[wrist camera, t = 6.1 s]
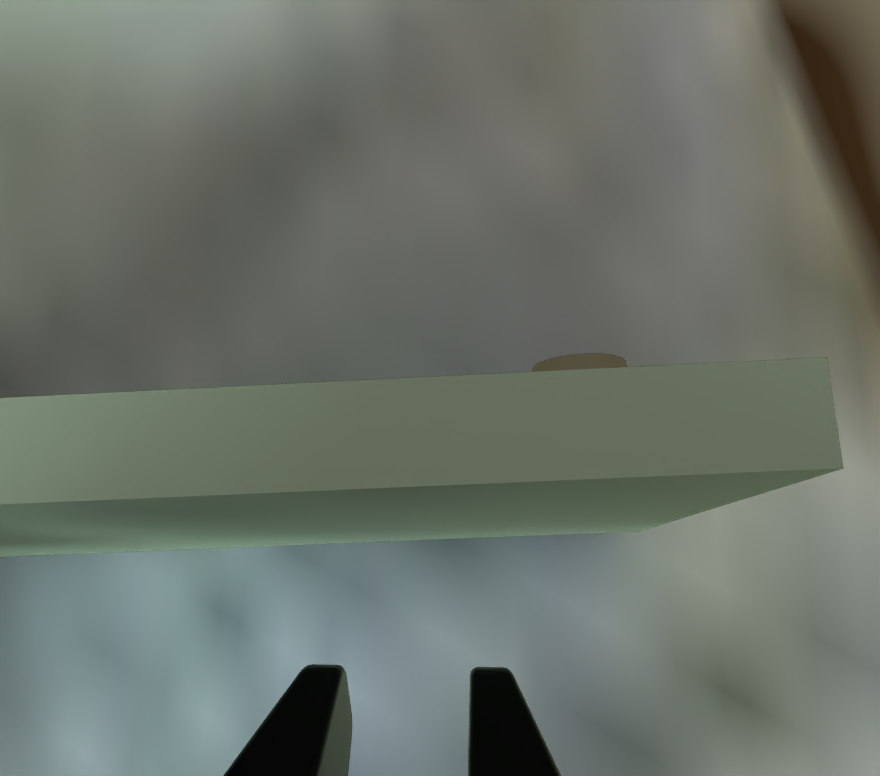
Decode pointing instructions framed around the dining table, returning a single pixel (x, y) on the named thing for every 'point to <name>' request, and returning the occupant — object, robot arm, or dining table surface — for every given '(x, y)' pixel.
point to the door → (408, 455)
